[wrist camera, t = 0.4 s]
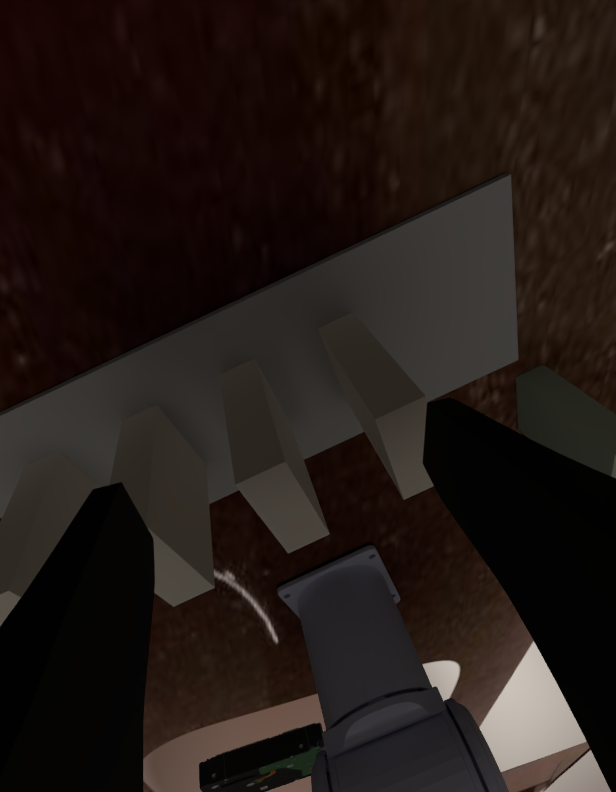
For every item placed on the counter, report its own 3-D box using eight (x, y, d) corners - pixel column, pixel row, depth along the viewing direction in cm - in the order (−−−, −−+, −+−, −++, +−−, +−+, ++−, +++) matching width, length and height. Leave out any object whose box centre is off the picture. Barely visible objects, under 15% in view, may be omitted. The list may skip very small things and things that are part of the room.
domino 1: (59, 450, 19) (8, 590, 13) (121, 505, 22) (100, 640, 16) (25, 466, 19) (-41, 613, 13) (91, 519, 22) (59, 659, 16)
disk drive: (214, 781, 53) (323, 745, 56) (215, 810, 51) (328, 771, 53) (197, 757, 47) (320, 718, 50) (197, 789, 45) (326, 746, 47)
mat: (513, 356, 23) (518, 359, 23) (75, 561, 24) (74, 567, 23) (504, 173, 17) (510, 174, 17) (-85, 452, 18) (-89, 458, 17)
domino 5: (543, 364, 24) (650, 438, 19) (542, 417, 27) (636, 495, 22) (515, 377, 24) (615, 455, 19) (518, 428, 27) (605, 509, 22)
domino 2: (156, 404, 19) (146, 526, 13) (206, 465, 22) (214, 587, 16) (122, 420, 19) (96, 549, 13) (175, 479, 22) (173, 606, 16)
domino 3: (254, 358, 19) (285, 461, 13) (291, 425, 21) (329, 534, 16) (219, 374, 19) (235, 484, 13) (260, 439, 22) (288, 553, 16)
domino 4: (352, 312, 19) (425, 396, 13) (377, 385, 21) (445, 480, 16) (317, 328, 19) (374, 419, 13) (346, 399, 21) (403, 499, 16)
